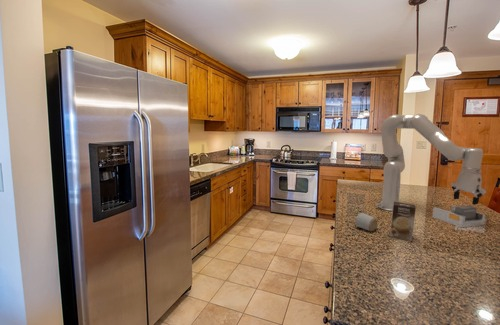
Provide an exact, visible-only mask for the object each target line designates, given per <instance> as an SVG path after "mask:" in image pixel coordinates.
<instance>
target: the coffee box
mask: <svg viewBox="0 0 500 325" xmlns="http://www.w3.org/2000/svg"><path fill="white" fill-rule="evenodd" d="M416 209H417V207H416V205H415V204H412V203H405V202H400V201H399V202H394V205H393V211H392V213H391V215H392V216H391V223H390V232H389V237H390V238H394V239H399V240H403V241H410V242H412V241H413V234H414V224H415V216H416Z"/></svg>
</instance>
